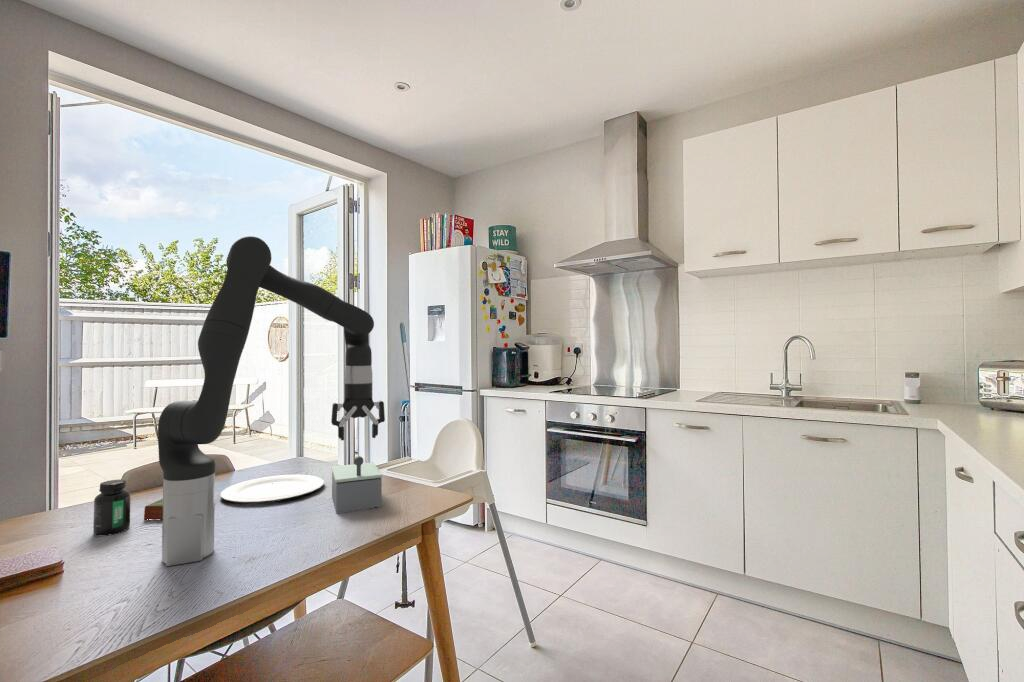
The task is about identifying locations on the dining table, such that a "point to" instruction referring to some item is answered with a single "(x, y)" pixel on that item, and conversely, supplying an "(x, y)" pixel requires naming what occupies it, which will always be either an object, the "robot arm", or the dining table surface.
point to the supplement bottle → (112, 508)
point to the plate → (272, 488)
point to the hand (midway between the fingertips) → (358, 438)
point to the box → (356, 494)
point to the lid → (356, 471)
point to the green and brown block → (154, 510)
